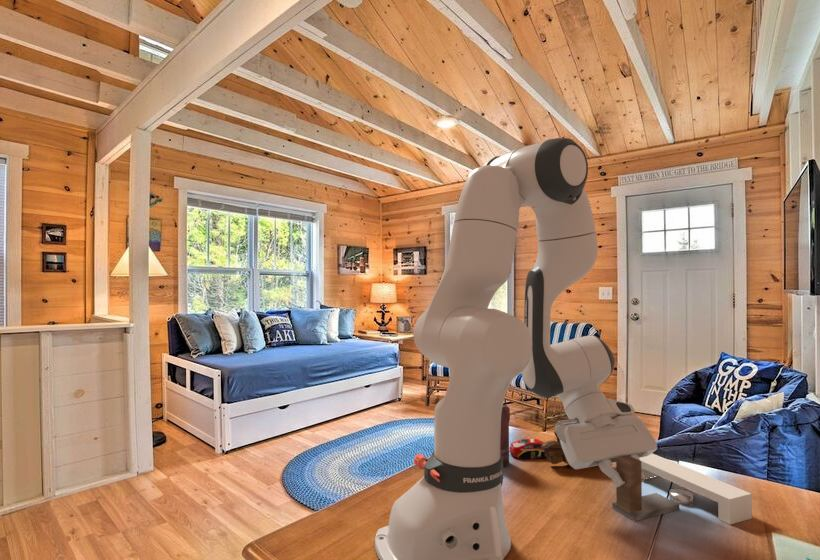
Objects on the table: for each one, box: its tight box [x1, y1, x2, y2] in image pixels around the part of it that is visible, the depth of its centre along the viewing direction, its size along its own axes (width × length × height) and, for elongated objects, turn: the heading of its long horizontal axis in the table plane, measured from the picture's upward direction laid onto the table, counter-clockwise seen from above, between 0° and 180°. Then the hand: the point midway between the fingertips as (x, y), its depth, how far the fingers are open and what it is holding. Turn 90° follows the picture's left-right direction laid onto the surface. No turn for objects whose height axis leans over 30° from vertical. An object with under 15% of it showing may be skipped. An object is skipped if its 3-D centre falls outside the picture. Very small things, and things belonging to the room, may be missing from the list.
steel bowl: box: [668, 488, 694, 506], centre depth 87 cm, size 4×4×2 cm
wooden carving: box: [542, 430, 570, 466], centre depth 104 cm, size 16×5×10 cm, turn 101°
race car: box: [509, 438, 547, 460], centre depth 111 cm, size 13×5×4 cm, turn 91°
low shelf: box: [639, 453, 753, 525], centre depth 89 cm, size 6×21×4 cm, turn 21°
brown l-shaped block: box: [611, 455, 680, 522], centre depth 84 cm, size 12×5×10 cm, turn 111°
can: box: [500, 403, 511, 468], centre depth 106 cm, size 6×6×14 cm
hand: (631, 483), depth 82 cm, fingers open, 3 cm apart
